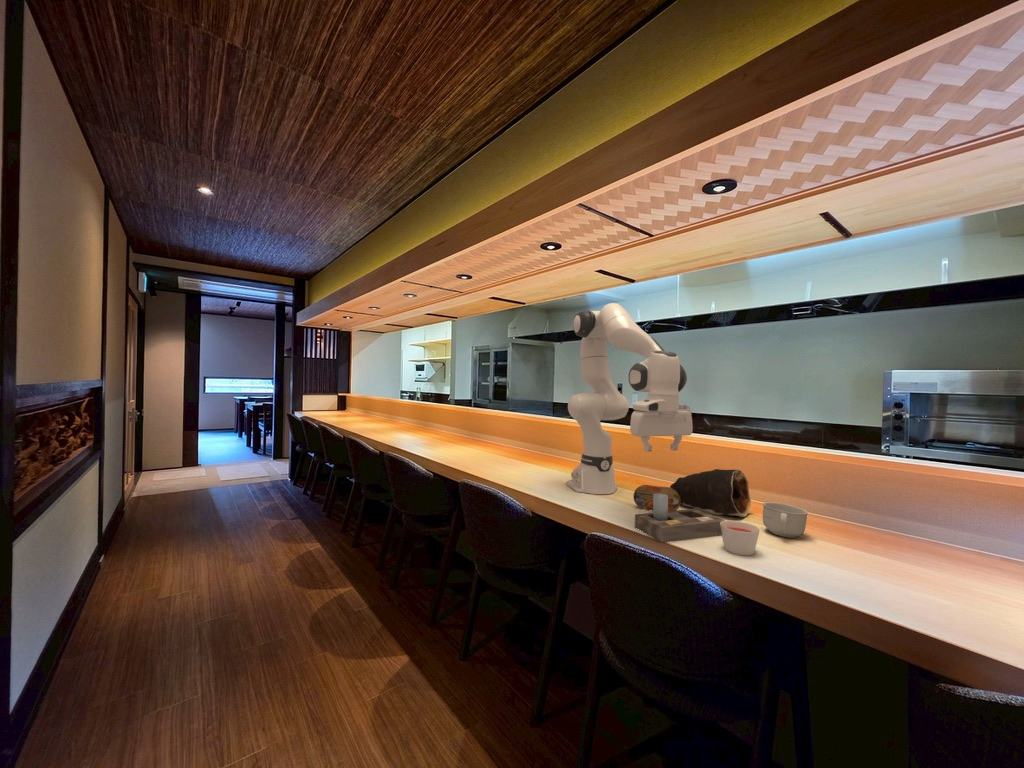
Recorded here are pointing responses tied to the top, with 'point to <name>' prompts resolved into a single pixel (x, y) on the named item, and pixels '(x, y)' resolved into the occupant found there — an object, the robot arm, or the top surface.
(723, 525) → the candle
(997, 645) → the top surface
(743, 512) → the clay pot
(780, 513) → the teacup
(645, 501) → the tin
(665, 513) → the plug
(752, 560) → the top surface
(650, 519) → the socket block
